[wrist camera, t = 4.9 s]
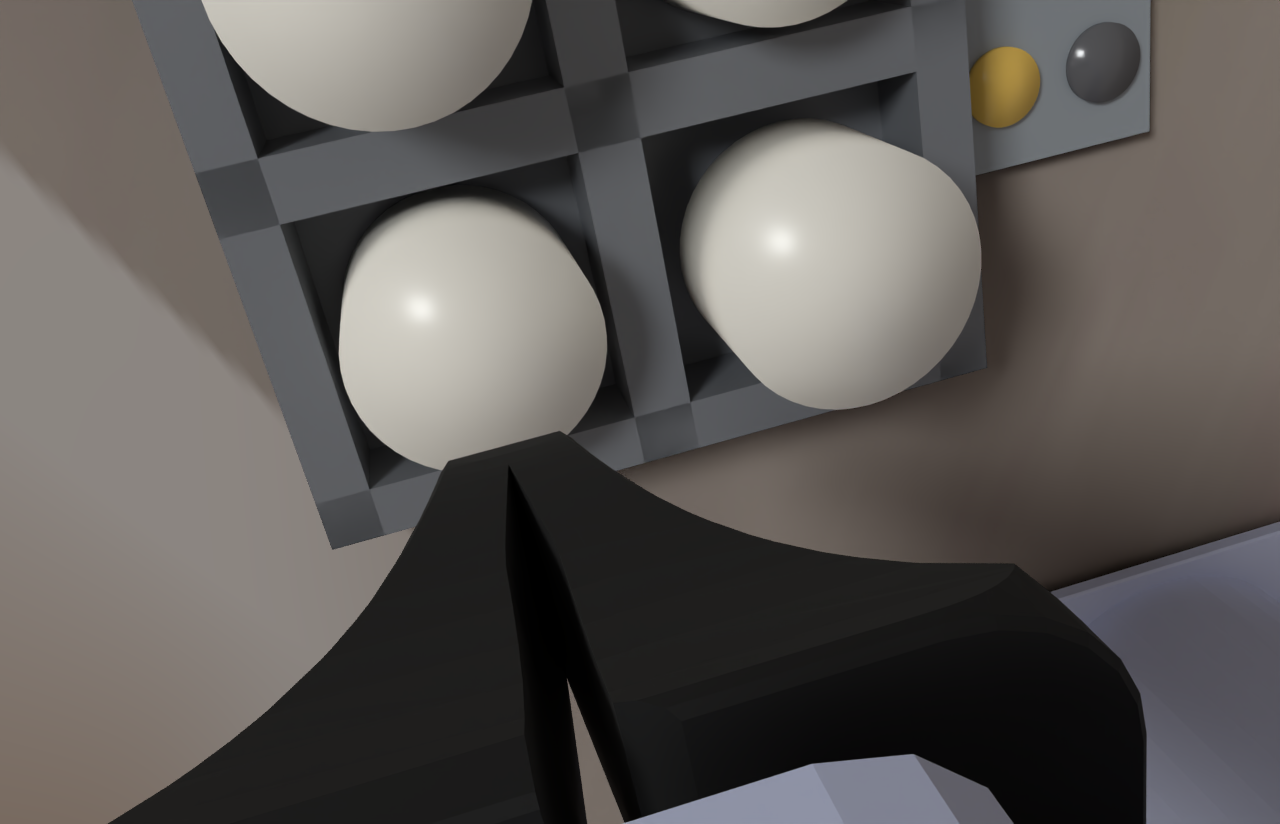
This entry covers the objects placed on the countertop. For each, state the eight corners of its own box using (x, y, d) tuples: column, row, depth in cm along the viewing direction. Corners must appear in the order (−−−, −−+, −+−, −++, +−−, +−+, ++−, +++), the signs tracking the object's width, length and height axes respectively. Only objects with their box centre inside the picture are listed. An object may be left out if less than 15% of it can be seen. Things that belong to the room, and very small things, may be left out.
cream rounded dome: (915, 320, 20) (988, 371, 18) (701, 378, 19) (747, 438, 17) (895, 93, 18) (973, 116, 16) (659, 150, 18) (704, 184, 15)
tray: (931, 329, 22) (987, 367, 20) (335, 491, 21) (332, 549, 19) (872, -387, 17) (939, -429, 15) (77, -239, 16) (36, -263, 14)
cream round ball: (599, 377, 20) (629, 434, 18) (381, 435, 20) (383, 502, 17) (550, 160, 19) (577, 192, 16) (310, 218, 18) (301, 259, 16)
